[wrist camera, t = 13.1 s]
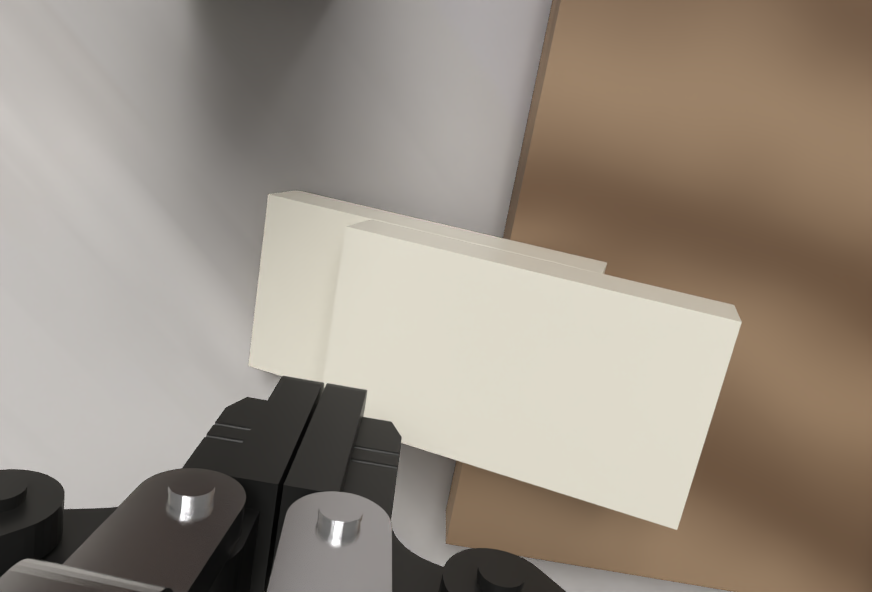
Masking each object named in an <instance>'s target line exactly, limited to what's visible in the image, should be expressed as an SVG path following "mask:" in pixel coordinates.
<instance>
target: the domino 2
mask: <svg viewBox="0 0 872 592" xmlns="http://www.w3.org/2000/svg"><path fill="white" fill-rule="evenodd" d="M741 323H742V321H741V319H740V317H739V315H738V312H737V310H736V308H735V306H734V305H732V304H728V303H724V302H720V301H715V300H711V299H707V298H703V297H698V296H694V295H690V294H686V293H682V292H677V291H673V290H669V289H665V288H660V287H656V286H652V285H648V284H644V283H639V282H635V281H631V280H627V279H622V278H618V277H614V276H610V275H606V274H601V273H597V272H593V271H589V270H584V269H580V268H576V267H572V266H568V265H563V264H559V263H555V262H551V261H546V260H542V259H538V258H534V257H530V256H525V255H521V254H517V253H513V252H508V251H504V250H500V249H496V248H492V247H487V246H483V245H479V244H475V243H470V242H466V241H462V240H458V239H454V238H449V237H445V236H441V235H437V234H432V233H428V232H424V231H420V230H416V229H411V228H407V227H403V226H399V225H394V224H390V223H386V222H382V221H378V220H373V219H369V220H366V221H362V222H359V223H356V224H352V225H349V226H346V228H345V235H344V242H343V249H342V255H341V262H340V269H339V276H338V283H337V289H336V296H335V303H334V310H333V317H332V323H331V330H330V337H329V344H328V351H327V357H326V364H325V371H324V378H323V383H324V388H325V386H326V384H327V383H330V384H336V385H342V386H347V387H353V388H359V389H365V390H367V398H366V404H365V410H364V416H363V417H367V418H373V419H379V420H385V421H391V422H392V423H393V424H394V426H395V428H396V429H397V431H398V432H399V434H400V435H401V437H402V439H401V443H403V444H406V445H409V446H412V447H416V448H419V449H422V450H425V451H428V452H431V453H435V454H438V455H441V456H444V457H447V458H450V459H454V460H457V461H460V462H463V463H466V464H470V465H473V466H476V467H479V468H482V469H485V470H489V471H492V472H495V473H498V474H501V475H504V476H508V477H511V478H514V479H517V480H520V481H523V482H527V483H530V484H533V485H536V486H539V487H542V488H546V489H549V490H552V491H555V492H558V493H561V494H565V495H568V496H571V497H574V498H577V499H580V500H584V501H587V502H590V503H593V504H596V505H599V506H603V507H606V508H609V509H612V510H615V511H618V512H622V513H625V514H628V515H631V516H634V517H637V518H641V519H644V520H647V521H650V522H653V523H656V524H660V525H663V526H666V527H669V528H672V529H675V530H677V529H678V526H679V522H680V519H681V516H682V513H683V509H684V506H685V503H686V500H687V497H688V493H689V490H690V487H691V484H692V480H693V477H694V474H695V471H696V468H697V464H698V461H699V458H700V455H701V452H702V448H703V445H704V442H705V439H706V435H707V432H708V429H709V426H710V423H711V419H712V416H713V413H714V410H715V407H716V403H717V400H718V397H719V394H720V390H721V387H722V384H723V381H724V378H725V374H726V371H727V368H728V365H729V361H730V358H731V355H732V352H733V349H734V345H735V342H736V339H737V336H738V333H739V329H740V326H741Z"/></svg>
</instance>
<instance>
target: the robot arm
mask: <svg viewBox="0 0 872 592" xmlns="http://www.w3.org/2000/svg"><path fill="white" fill-rule="evenodd" d="M366 398H367V390H365V389H359V388H353V387H347V386H342V385H336V384H330V383H327V384H326V386H325V388H324V383H323V382H318V381H312V380H306V379H300V378H294V377H289V376H282V377H281V379H280V381H279V382H278V384H277V386H276V387H275V389H274V391H273V392H272V394H271V396H270V397H269V399H268V401H267V400H261V399H255V398H250V397H246V398H244V399H242V400H240V401H238V402H236V403H234V404H232V405H230V406H228V407H226V408H225V410H224V411H223V412H222V414H221V415H220V416H219V418H218V419H217V421H216V422H215V425H213V426H212V428H211V429H210V430H209V432H208V433H207V436H206V437H204V439H203V440H202V441H201V443H200V444H199V446H198V447H197V448H196V450H195V451H194V452H193V454H192V455H191V457H190V458H189V459H188V461H187V462H186V464H185V465H184V466H183V468H182V469H175V470H170V471H165V472H162V473H159V474H156V475H154V476H152V477H150V478H148V479H147V480H145V481H144V482H143V483H141V484H140V485H139V486H138V487H137V488H136V489H135V490H134V491H133V492H132V493H131V494H130V495H129V496H128V497H127V498H126V499H125V501H124V502H123V503H122V504H121V505H120V506H119V507H114V508H95V509H64V489H63V487H62V485H61V484H60V483H59V482H58V481H57V480H55V479H54V478H52V477H50V476H48V475H45V474H42V473H39V472H34V471H29V470H15V469H8V470H0V592H566V591H564V590H563V589H562V588H561V587H560V586H559V585H557V584H556V583H555V582H554V581H553V580H551V579H550V578H549V577H548V576H547V575H546V574H544V573H543V572H542V571H541V570H540V569H538V568H537V567H536V566H534V565H533V564H532V563H530V562H528V561H527V560H525V559H523V558H521V557H519V556H517V555H515V554H512V553H509V552H506V551H502V550H498V549H490V548H473V549H468V550H464V551H461V552H459V553H456V554H455V555H453V556H452V557H451V558H450V559H449V560H448V561H447V562H446V564H445V566H444V567H442V566H439V565H437V564H434V563H432V562H429V561H427V560H425V559H423V558H421V557H419V556H417V555H416V554H414V553H412V552H411V551H410V550H408V549H407V548H406V547H405V546H404V545H403V544H402V543H400V541H399V540H398V539H397V537H396V536H395V534H394V532H393V530H392V524H391V515H392V508H393V500H394V493H395V485H396V477H397V470H398V462H399V454H400V447H401V439H402V437H401V435H400V434H399V432H398V431H397V429H396V428H395V426H394V424H393V423H392V422H391V421H385V420H379V419H373V418H367V417H363V416H364V410H365V404H366Z"/></svg>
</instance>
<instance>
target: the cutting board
mask: <svg viewBox="0 0 872 592" xmlns="http://www.w3.org/2000/svg"><path fill="white" fill-rule="evenodd" d="M503 238H504V239H508V240H513V241H517V242H521V243H525V244H530V245H534V246H538V247H543V248H547V249H551V250H555V251H560V252H564V253H568V254H573V255H577V256H581V257H585V258H590V259H594V260H598V261H602V262H607V265H606V269H605V273H604V274H606V275H610V276H614V277H618V278H622V279H627V280H631V281H635V282H639V283H644V284H648V285H652V286H656V287H660V288H665V289H669V290H673V291H677V292H682V293H686V294H690V295H694V296H698V297H703V298H707V299H711V300H715V301H720V302H724V303H728V304H732V305H734V306H735V308H736V310H737V312H738V315H739V317H740V319H741V321H742V323H741V326H740V329H739V333H738V336H737V339H736V342H735V345H734V349H733V352H732V355H731V358H730V361H729V365H728V368H727V371H726V374H725V378H724V381H723V384H722V387H721V390H720V394H719V397H718V400H717V403H716V407H715V410H714V413H713V416H712V419H711V423H710V426H709V429H708V432H707V435H706V439H705V442H704V445H703V448H702V452H701V455H700V458H699V461H698V464H697V468H696V471H695V474H694V477H693V480H692V484H691V487H690V490H689V493H688V497H687V500H686V503H685V506H684V509H683V513H682V516H681V519H680V522H679V526H678V529H677V530H675V529H672V528H669V527H666V526H663V525H660V524H656V523H653V522H650V521H647V520H644V519H641V518H637V517H634V516H631V515H628V514H625V513H622V512H618V511H615V510H612V509H609V508H606V507H603V506H599V505H596V504H593V503H590V502H587V501H584V500H580V499H577V498H574V497H571V496H568V495H565V494H561V493H558V492H555V491H552V490H549V489H546V488H542V487H539V486H536V485H533V484H530V483H527V482H523V481H520V480H517V479H514V478H511V477H508V476H504V475H501V474H498V473H495V472H492V471H489V470H485V469H482V468H479V467H476V466H473V465H470V464H466V463H463V462H460V461H457V460H456V465H455V469H454V474H453V479H452V484H451V489H450V493H449V498H448V503H447V508H446V544H451V545H457V546H463V547H469V548H490V549H498V550H502V551H506V552H509V553H512V554H515V555H517V556H523V557H529V558H535V559H541V560H547V561H553V562H559V563H565V564H571V565H577V566H583V567H589V568H595V569H601V570H607V571H613V572H619V573H625V574H631V575H637V576H643V577H649V578H655V579H661V580H667V581H673V582H679V583H685V584H691V585H697V586H703V587H709V588H715V589H721V590H727V591H733V592H872V0H553V1H552V5H551V10H550V15H549V20H548V24H547V29H546V34H545V39H544V44H543V48H542V53H541V58H540V63H539V68H538V72H537V77H536V82H535V87H534V91H533V96H532V101H531V106H530V111H529V115H528V120H527V125H526V130H525V135H524V139H523V144H522V149H521V154H520V158H519V163H518V168H517V173H516V178H515V182H514V187H513V192H512V197H511V202H510V206H509V211H508V216H507V221H506V225H505V230H504V235H503Z"/></svg>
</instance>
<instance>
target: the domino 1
mask: <svg viewBox="0 0 872 592" xmlns="http://www.w3.org/2000/svg"><path fill="white" fill-rule="evenodd" d="M369 219H373V220H378V221H382V222H386V223H390V224H394V225H399V226H403V227H407V228H411V229H416V230H420V231H424V232H428V233H432V234H437V235H441V236H445V237H449V238H454V239H458V240H462V241H466V242H470V243H475V244H479V245H483V246H487V247H492V248H496V249H500V250H504V251H508V252H513V253H517V254H521V255H525V256H530V257H534V258H538V259H542V260H546V261H551V262H555V263H559V264H563V265H568V266H572V267H576V268H580V269H584V270H589V271H593V272H597V273H601V274H604V273H605V269H606V265H607V262H602V261H598V260H594V259H590V258H585V257H581V256H577V255H573V254H568V253H564V252H560V251H555V250H551V249H547V248H543V247H538V246H534V245H530V244H525V243H521V242H517V241H513V240H508V239H504V238H500V237H495V236H491V235H487V234H483V233H478V232H474V231H470V230H466V229H461V228H457V227H453V226H448V225H444V224H440V223H436V222H431V221H427V220H423V219H418V218H414V217H410V216H406V215H401V214H397V213H393V212H389V211H384V210H380V209H376V208H371V207H367V206H363V205H359V204H354V203H350V202H346V201H341V200H337V199H333V198H329V197H324V196H320V195H316V194H312V193H307V192H303V191H299V190H293V191H286V192H280V193H273V194H268V200H267V209H266V217H265V226H264V235H263V243H262V252H261V260H260V269H259V277H258V286H257V295H256V303H255V312H254V320H253V329H252V337H251V346H250V355H249V363H248V366H250V367H253V368H256V369H260V370H263V371H266V372H270V373H273V374H276V375H279V376H289V377H294V378H300V379H306V380H312V381H318V382H323V378H324V371H325V364H326V357H327V351H328V344H329V337H330V330H331V323H332V317H333V310H334V303H335V296H336V289H337V283H338V276H339V269H340V262H341V255H342V249H343V242H344V235H345V228H346V226H349V225H352V224H356V223H359V222H362V221H366V220H369Z"/></svg>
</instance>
